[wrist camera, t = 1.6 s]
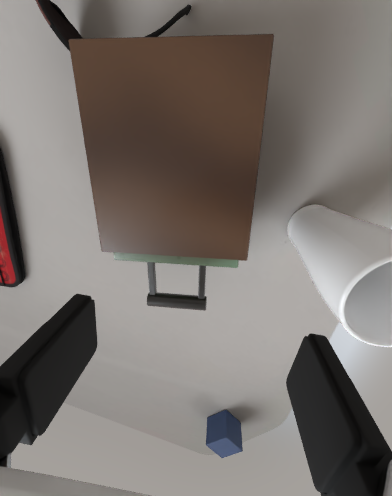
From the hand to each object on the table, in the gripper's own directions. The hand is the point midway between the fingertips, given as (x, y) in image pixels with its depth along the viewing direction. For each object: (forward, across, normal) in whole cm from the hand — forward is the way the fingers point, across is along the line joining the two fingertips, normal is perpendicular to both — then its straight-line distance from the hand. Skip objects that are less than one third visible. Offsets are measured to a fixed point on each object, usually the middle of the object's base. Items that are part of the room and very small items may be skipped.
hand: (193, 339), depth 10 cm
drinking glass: (+19, -12, -1) cm, 22 cm away
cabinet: (+19, +4, -6) cm, 21 cm away
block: (+19, -8, +38) cm, 43 cm away
